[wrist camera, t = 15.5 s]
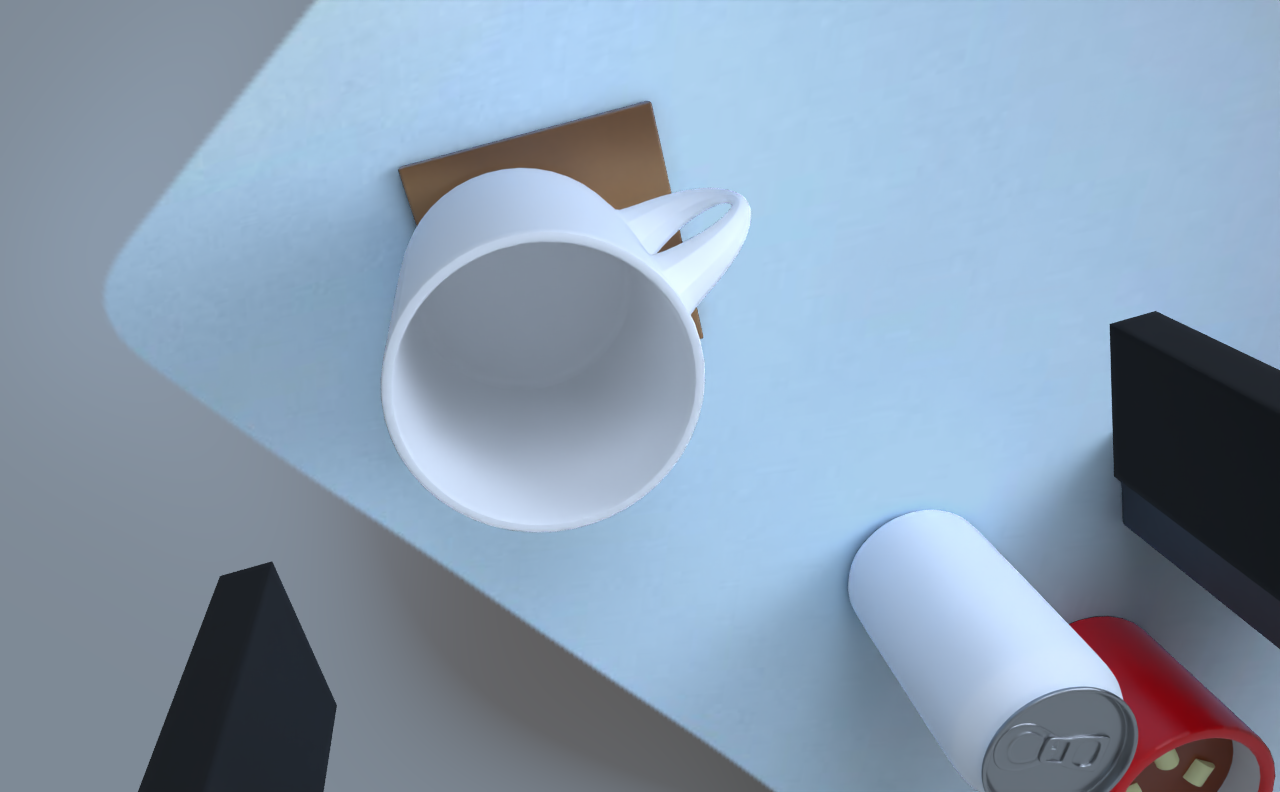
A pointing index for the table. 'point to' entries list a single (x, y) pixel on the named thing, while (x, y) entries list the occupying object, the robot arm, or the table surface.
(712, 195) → the mug
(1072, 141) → the table surface
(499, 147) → the coaster
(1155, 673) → the mug
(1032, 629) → the can
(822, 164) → the table surface
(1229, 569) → the coffee maker
